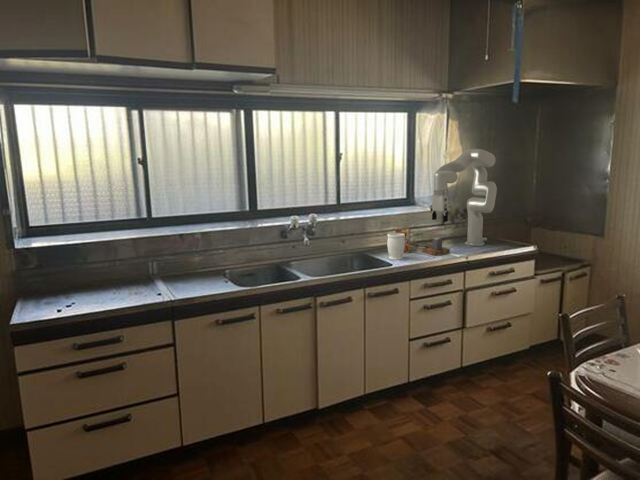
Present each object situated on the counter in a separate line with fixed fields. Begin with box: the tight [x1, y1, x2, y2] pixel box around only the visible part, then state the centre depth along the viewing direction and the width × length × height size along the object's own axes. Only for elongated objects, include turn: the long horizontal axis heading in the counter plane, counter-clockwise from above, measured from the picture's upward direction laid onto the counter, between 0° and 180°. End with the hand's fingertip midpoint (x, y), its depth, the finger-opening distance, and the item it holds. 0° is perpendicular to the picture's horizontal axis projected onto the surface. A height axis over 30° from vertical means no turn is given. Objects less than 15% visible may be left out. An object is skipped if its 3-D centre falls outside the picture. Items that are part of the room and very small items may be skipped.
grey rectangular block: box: [432, 237, 443, 251], centre depth 299 cm, size 4×4×11 cm
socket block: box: [414, 244, 451, 259], centre depth 303 cm, size 12×18×4 cm
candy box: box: [394, 227, 411, 254], centre depth 309 cm, size 9×4×15 cm, turn 60°
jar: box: [386, 232, 405, 261], centre depth 293 cm, size 11×10×15 cm
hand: (439, 220), depth 298 cm, fingers open, 9 cm apart
